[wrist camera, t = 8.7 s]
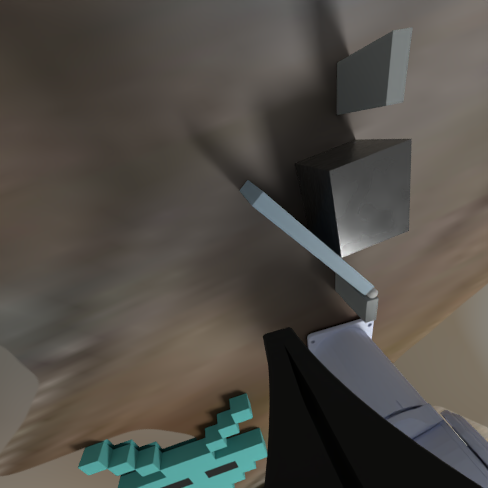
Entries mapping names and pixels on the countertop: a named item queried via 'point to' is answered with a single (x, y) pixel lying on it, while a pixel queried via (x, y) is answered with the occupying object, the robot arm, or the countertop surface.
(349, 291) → the grey long flat piece
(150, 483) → the teal pixel art cutout
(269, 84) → the countertop surface
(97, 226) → the countertop surface
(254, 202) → the pale blue stick
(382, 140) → the block
